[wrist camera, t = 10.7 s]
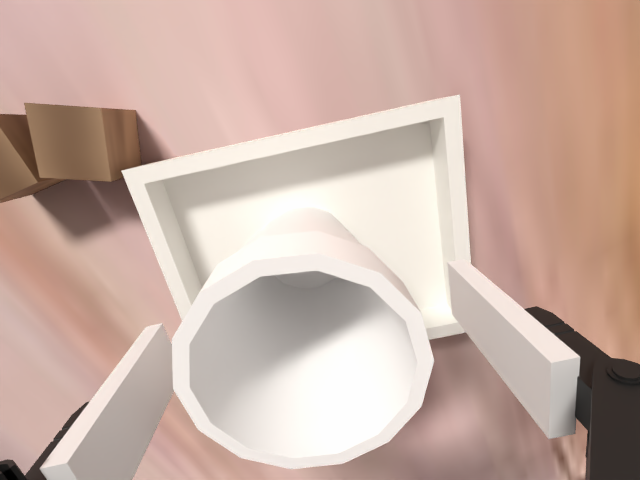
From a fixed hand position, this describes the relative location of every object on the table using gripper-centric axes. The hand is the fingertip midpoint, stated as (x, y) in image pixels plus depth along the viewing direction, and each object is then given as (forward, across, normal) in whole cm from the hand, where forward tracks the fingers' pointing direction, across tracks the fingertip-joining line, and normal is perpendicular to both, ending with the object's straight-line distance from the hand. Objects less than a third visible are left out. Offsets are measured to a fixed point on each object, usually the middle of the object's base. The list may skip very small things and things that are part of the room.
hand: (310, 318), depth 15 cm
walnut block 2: (+11, -11, +10) cm, 19 cm away
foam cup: (+10, 0, 0) cm, 10 cm away
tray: (+11, +1, 0) cm, 11 cm away
